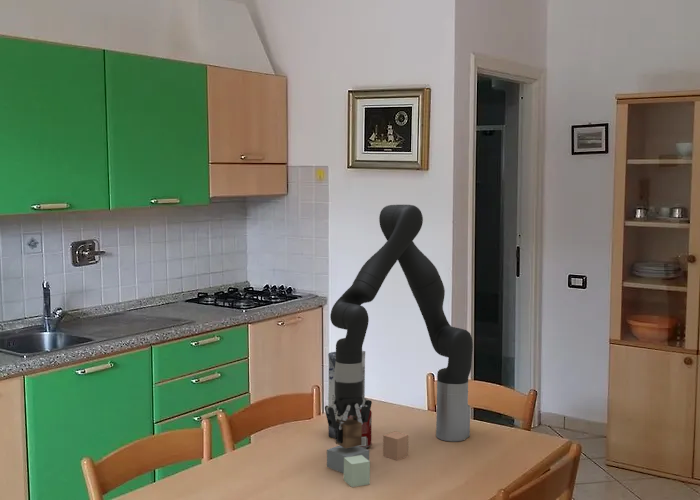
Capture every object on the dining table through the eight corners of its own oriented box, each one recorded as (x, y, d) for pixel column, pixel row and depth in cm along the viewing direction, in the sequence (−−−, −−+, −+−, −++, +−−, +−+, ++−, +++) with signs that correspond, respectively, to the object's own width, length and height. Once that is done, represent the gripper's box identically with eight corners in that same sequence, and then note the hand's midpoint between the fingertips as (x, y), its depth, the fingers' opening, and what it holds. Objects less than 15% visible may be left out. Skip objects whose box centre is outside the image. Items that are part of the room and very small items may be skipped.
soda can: (368, 451, 223) (369, 409, 222) (345, 449, 224) (346, 408, 223) (373, 443, 229) (373, 403, 228) (350, 441, 231) (350, 401, 230)
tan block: (394, 451, 223) (394, 431, 222) (408, 456, 219) (408, 435, 219) (383, 456, 219) (383, 435, 218) (397, 460, 216) (397, 439, 215)
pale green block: (361, 477, 203) (361, 455, 203) (369, 484, 199) (369, 461, 198) (343, 480, 201) (343, 457, 201) (351, 487, 196) (351, 464, 196)
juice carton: (367, 433, 238) (368, 345, 236) (349, 443, 229) (350, 352, 227) (343, 428, 243) (344, 342, 241) (324, 437, 234) (324, 348, 232)
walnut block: (350, 439, 213) (351, 418, 213) (361, 444, 209) (361, 422, 209) (335, 443, 210) (335, 421, 210) (345, 448, 206) (345, 426, 206)
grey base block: (348, 460, 216) (348, 442, 215) (369, 468, 210) (369, 449, 210) (326, 467, 210) (326, 449, 210) (347, 475, 205) (347, 457, 204)
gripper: (362, 371, 215) (362, 432, 217) (318, 378, 207) (318, 441, 209) (379, 377, 209) (378, 439, 211) (333, 384, 201) (333, 449, 203)
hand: (348, 440), depth 210 cm, fingers closed on walnut block, 4 cm apart
